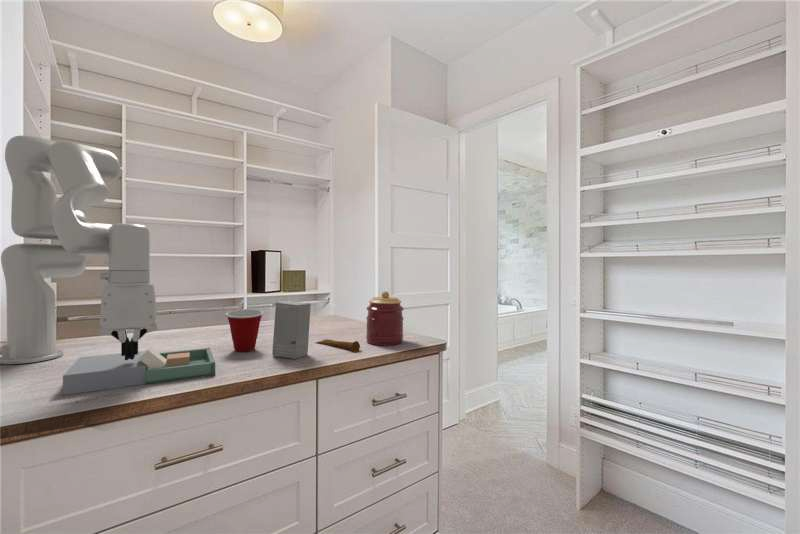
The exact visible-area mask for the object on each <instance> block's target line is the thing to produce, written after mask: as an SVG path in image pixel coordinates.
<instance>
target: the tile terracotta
mask: <svg viewBox="0 0 800 534" xmlns="http://www.w3.org/2000/svg"><path fill="white" fill-rule="evenodd" d="M183 365H190V352H188V353H178V354H168V355H167V361H166V367H175V366H183Z"/></svg>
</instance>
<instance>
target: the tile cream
mask: <svg viewBox="0 0 800 534" xmlns="http://www.w3.org/2000/svg"><path fill="white" fill-rule="evenodd" d="M143 351H144V352H143V353H142V354H141V355H140V356H139V358H138V359H139V360H141V361H142V362H143V363H144V364H146V365H147V366H148V367H150V368H151V369H158V368H162V367H163V366H164V365H165V364H166V361H167V359H165V358H164V357H163V356H162V355H160V354H159V353H160V352H158V351H157V350H156V349H154V348H153V347H151V346H149V347H148V348H146V350H143Z"/></svg>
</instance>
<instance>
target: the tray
mask: <svg viewBox="0 0 800 534" xmlns="http://www.w3.org/2000/svg"><path fill="white" fill-rule="evenodd" d="M188 352H190V365H183V366H175V367H166V364H165V365H164V366H163V367H162V368H158V369H151V368H150V367H149V370H146V384H145V385H152V384H159V383H158V382H160V383H165V382H166V381H167V382H172V381H174V380H175V381H180V379H182V380H188V378H189V379H195V378H194V377H197V378H203V377H202V376H204V377H210V376H216V361H215V358H214V356H213V353H212V350H211V347H207V348H206V347H205V348H196V349H185V350H176V351H165V352H158V353H159V354H160V355H162V356H163V357H164V358H165V359H167V355H168V354H178V353H188Z"/></svg>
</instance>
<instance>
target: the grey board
mask: <svg viewBox="0 0 800 534" xmlns="http://www.w3.org/2000/svg"><path fill="white" fill-rule="evenodd" d="M144 351H145V350H142V351H138V354H137V355H135V357H134V359H132V360H131V359H130V358H129V359H128V360H125V356H121V352H120V353H111V354H99V355H90V356H81V357H79V358H78V359H77V360H76V361H75V362H74V363H73V364H72V365H71V366H70V367H69V369H67V370H66V371H65V373H63V375H62V395H63V396H64V395H66V396H67V395H73V394H79V393H86V392H87V393H89V392H93V391H94V392H95V391H102V390H109V389H118V388H125V387H131V386H139V385H147V384H146V370H149V367H148V366H147V365H146V364H144V363H143V362H142V361H141V360H139V359H138V358H139V356H140V355H141V354H142V353H143V352H144Z"/></svg>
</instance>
